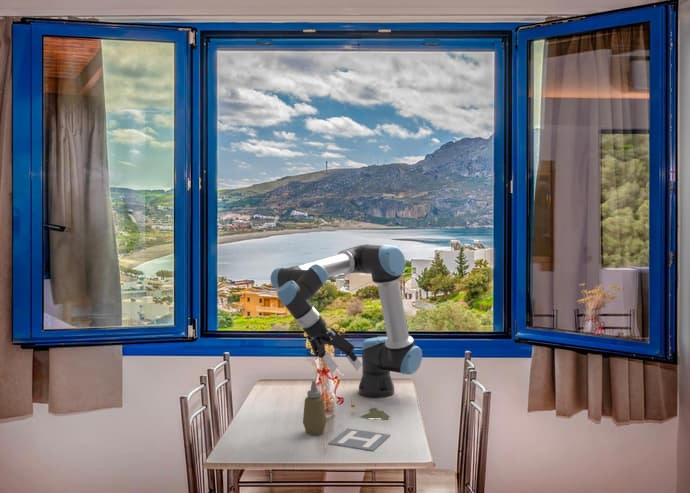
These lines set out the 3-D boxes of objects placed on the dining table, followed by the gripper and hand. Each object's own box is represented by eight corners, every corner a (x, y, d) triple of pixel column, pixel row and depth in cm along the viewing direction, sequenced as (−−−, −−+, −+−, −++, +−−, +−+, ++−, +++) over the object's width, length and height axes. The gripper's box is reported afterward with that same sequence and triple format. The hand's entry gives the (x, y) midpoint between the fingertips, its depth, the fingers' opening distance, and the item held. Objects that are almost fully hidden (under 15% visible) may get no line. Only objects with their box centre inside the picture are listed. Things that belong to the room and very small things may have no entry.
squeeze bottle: (319, 438, 202) (319, 385, 201) (298, 434, 205) (297, 382, 204) (330, 430, 209) (329, 379, 208) (309, 427, 213) (309, 377, 212)
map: (369, 428, 212) (369, 425, 212) (354, 412, 229) (354, 409, 229) (398, 425, 215) (398, 422, 215) (381, 409, 232) (381, 407, 232)
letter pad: (347, 429, 210) (347, 428, 210) (390, 435, 203) (390, 434, 203) (328, 443, 197) (328, 443, 197) (373, 451, 190) (373, 450, 190)
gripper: (284, 332, 209) (319, 377, 215) (326, 325, 190) (364, 374, 195) (297, 318, 214) (331, 362, 219) (339, 310, 195) (376, 358, 200)
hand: (347, 368), depth 207 cm, fingers open, 13 cm apart
